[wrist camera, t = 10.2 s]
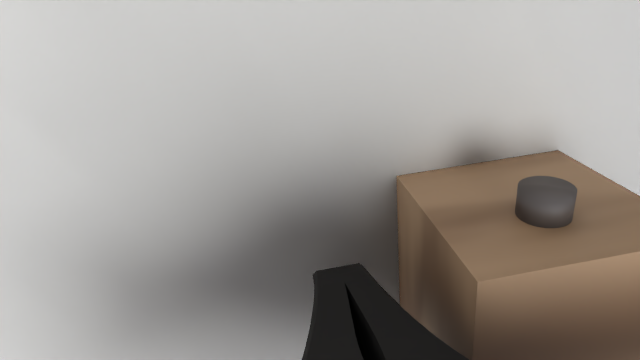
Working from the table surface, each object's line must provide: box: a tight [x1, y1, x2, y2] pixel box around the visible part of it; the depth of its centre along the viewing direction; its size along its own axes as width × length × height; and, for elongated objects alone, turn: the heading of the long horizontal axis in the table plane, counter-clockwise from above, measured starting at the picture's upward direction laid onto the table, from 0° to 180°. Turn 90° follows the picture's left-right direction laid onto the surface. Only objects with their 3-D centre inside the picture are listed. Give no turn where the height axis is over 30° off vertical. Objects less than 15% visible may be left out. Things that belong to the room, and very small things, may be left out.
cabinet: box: [397, 150, 640, 360], centre depth 12 cm, size 6×5×5 cm
